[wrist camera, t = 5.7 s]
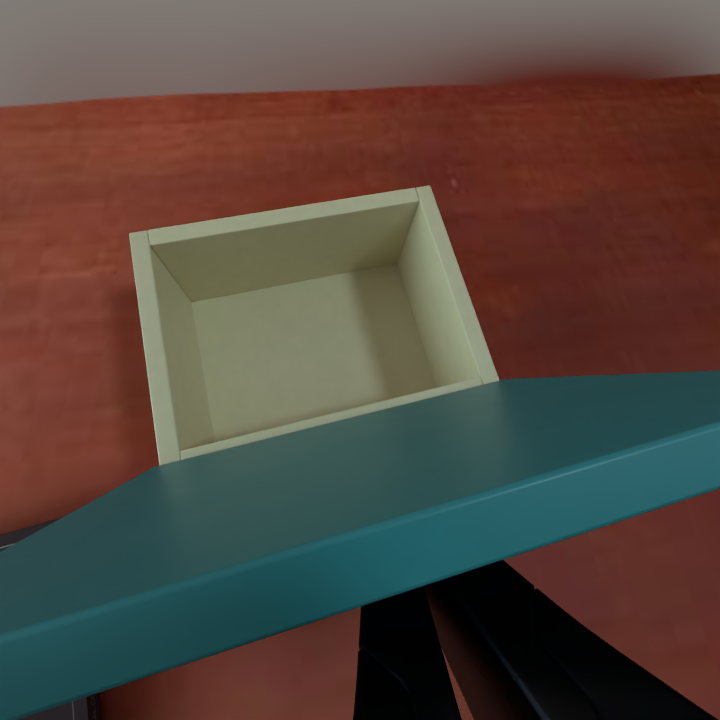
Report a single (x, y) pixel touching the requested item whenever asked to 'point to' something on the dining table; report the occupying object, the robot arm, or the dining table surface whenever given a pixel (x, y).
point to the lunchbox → (301, 319)
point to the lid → (338, 522)
